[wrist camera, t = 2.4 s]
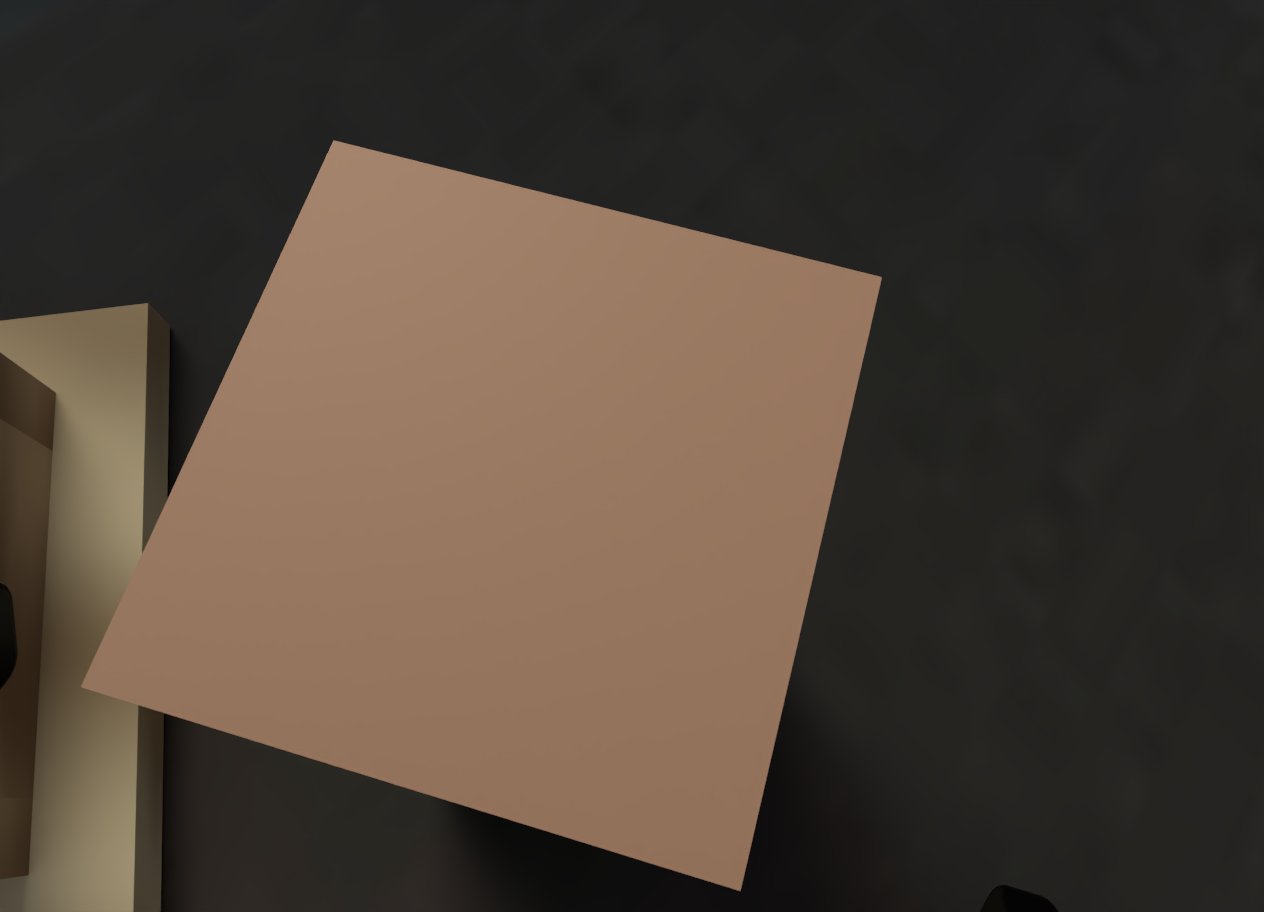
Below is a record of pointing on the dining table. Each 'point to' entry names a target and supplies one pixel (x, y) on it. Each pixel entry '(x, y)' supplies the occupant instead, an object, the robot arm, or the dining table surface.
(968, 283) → the dining table surface
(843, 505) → the dining table surface
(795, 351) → the birch post
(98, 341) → the socket stand
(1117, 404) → the dining table surface
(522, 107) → the dining table surface
